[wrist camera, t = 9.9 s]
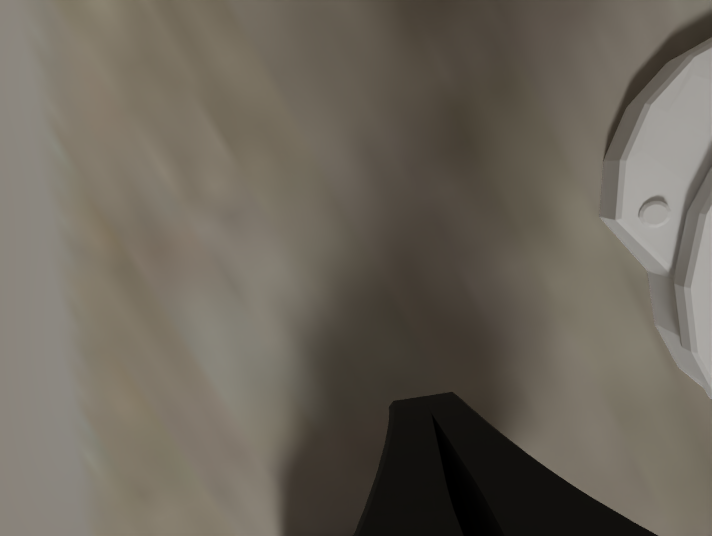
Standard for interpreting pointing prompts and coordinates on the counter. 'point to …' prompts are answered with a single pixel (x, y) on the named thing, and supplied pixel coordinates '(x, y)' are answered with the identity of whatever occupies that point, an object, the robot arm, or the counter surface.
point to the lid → (669, 202)
